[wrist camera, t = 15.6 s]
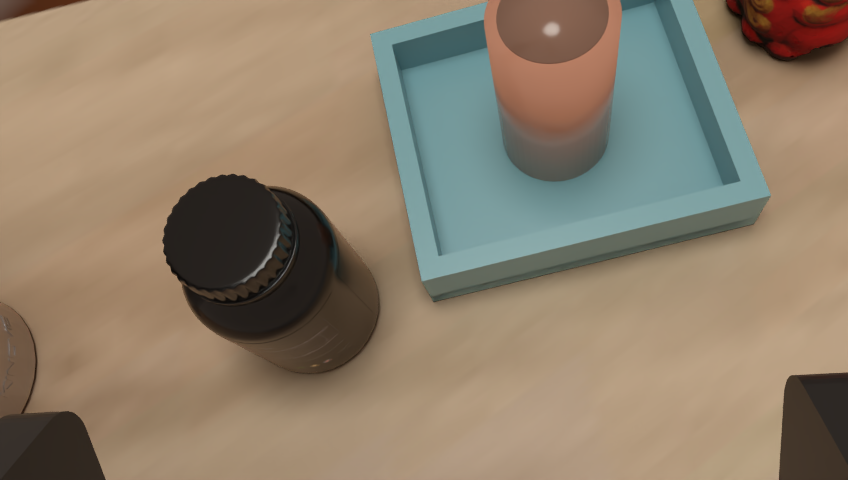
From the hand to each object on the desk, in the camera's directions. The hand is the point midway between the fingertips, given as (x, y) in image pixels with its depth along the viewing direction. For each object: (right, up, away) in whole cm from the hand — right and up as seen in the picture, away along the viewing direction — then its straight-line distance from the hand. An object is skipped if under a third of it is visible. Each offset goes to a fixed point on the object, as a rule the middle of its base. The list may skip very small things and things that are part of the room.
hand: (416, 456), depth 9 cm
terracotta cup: (+7, +8, +32) cm, 33 cm away
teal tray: (+7, +8, +33) cm, 34 cm away
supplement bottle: (-5, -1, +32) cm, 32 cm away
